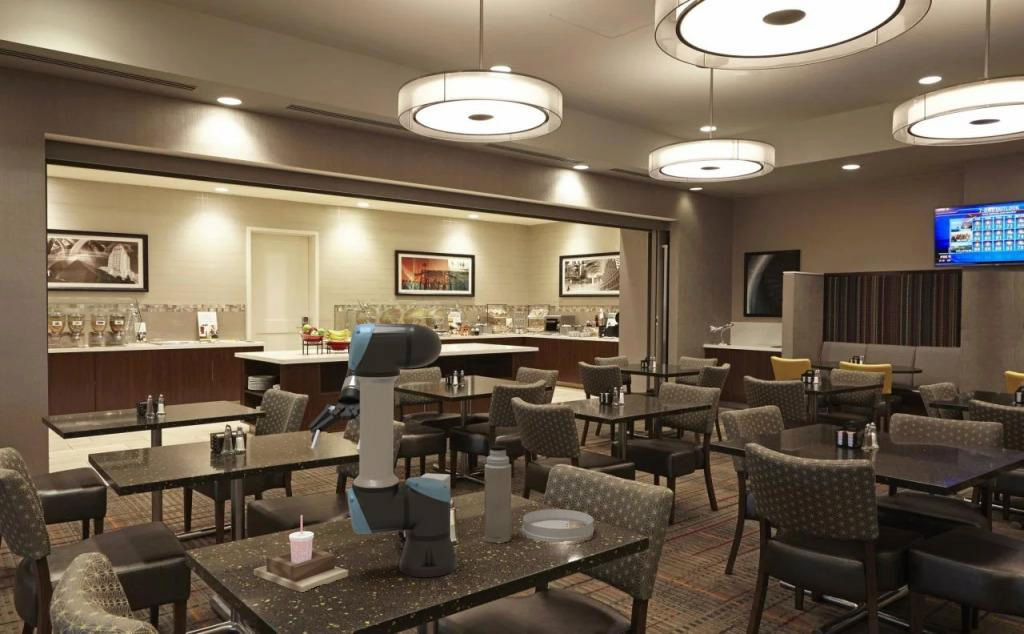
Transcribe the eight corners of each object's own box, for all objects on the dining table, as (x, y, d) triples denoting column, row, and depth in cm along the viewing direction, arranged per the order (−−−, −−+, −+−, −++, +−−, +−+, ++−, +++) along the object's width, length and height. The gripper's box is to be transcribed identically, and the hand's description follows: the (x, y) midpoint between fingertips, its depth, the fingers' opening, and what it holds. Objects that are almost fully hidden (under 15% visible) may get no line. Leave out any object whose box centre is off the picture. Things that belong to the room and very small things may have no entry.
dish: (508, 538, 213) (508, 521, 213) (544, 520, 232) (544, 505, 232) (573, 550, 202) (574, 533, 202) (605, 531, 220) (605, 515, 220)
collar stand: (348, 576, 180) (348, 556, 180) (302, 593, 169) (302, 572, 169) (299, 560, 192) (299, 542, 192) (253, 575, 181) (253, 555, 181)
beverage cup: (306, 564, 185) (306, 510, 185) (318, 569, 181) (318, 515, 181) (284, 569, 180) (284, 515, 181) (296, 575, 176) (296, 519, 176)
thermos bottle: (480, 542, 208) (481, 447, 208) (489, 534, 216) (489, 443, 216) (506, 545, 206) (506, 449, 206) (514, 537, 213) (514, 444, 213)
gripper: (394, 402, 220) (380, 459, 205) (317, 401, 222) (298, 458, 207) (390, 386, 214) (375, 444, 199) (311, 386, 217) (290, 443, 202)
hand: (336, 451), depth 203 cm, fingers open, 13 cm apart
